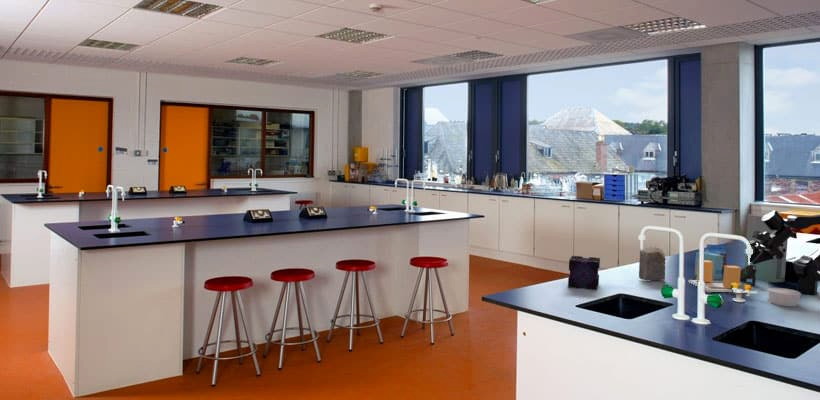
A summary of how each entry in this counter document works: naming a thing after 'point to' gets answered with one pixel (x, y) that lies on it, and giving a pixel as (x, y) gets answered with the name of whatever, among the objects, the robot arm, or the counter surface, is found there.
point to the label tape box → (717, 252)
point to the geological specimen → (652, 264)
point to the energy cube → (584, 272)
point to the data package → (717, 264)
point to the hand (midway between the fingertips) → (750, 262)
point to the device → (770, 268)
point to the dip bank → (713, 286)
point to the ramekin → (783, 296)
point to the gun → (748, 273)
